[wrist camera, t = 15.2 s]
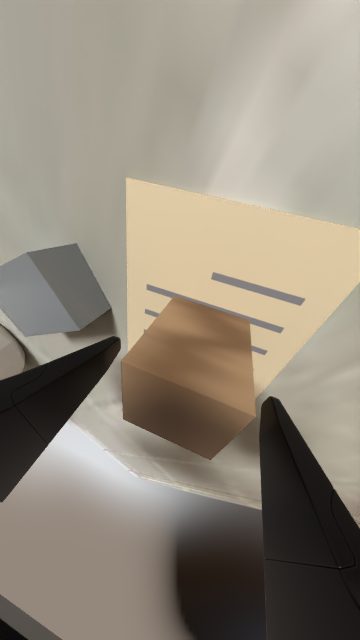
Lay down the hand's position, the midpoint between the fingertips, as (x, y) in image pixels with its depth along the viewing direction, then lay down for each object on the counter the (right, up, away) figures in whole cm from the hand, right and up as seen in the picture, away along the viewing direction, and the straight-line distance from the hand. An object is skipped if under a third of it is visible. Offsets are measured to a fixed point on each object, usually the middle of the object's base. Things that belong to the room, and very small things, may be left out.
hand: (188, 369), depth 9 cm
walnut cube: (+1, +2, +3) cm, 3 cm away
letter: (+1, +2, +3) cm, 3 cm away
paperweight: (-10, +6, +5) cm, 12 cm away
